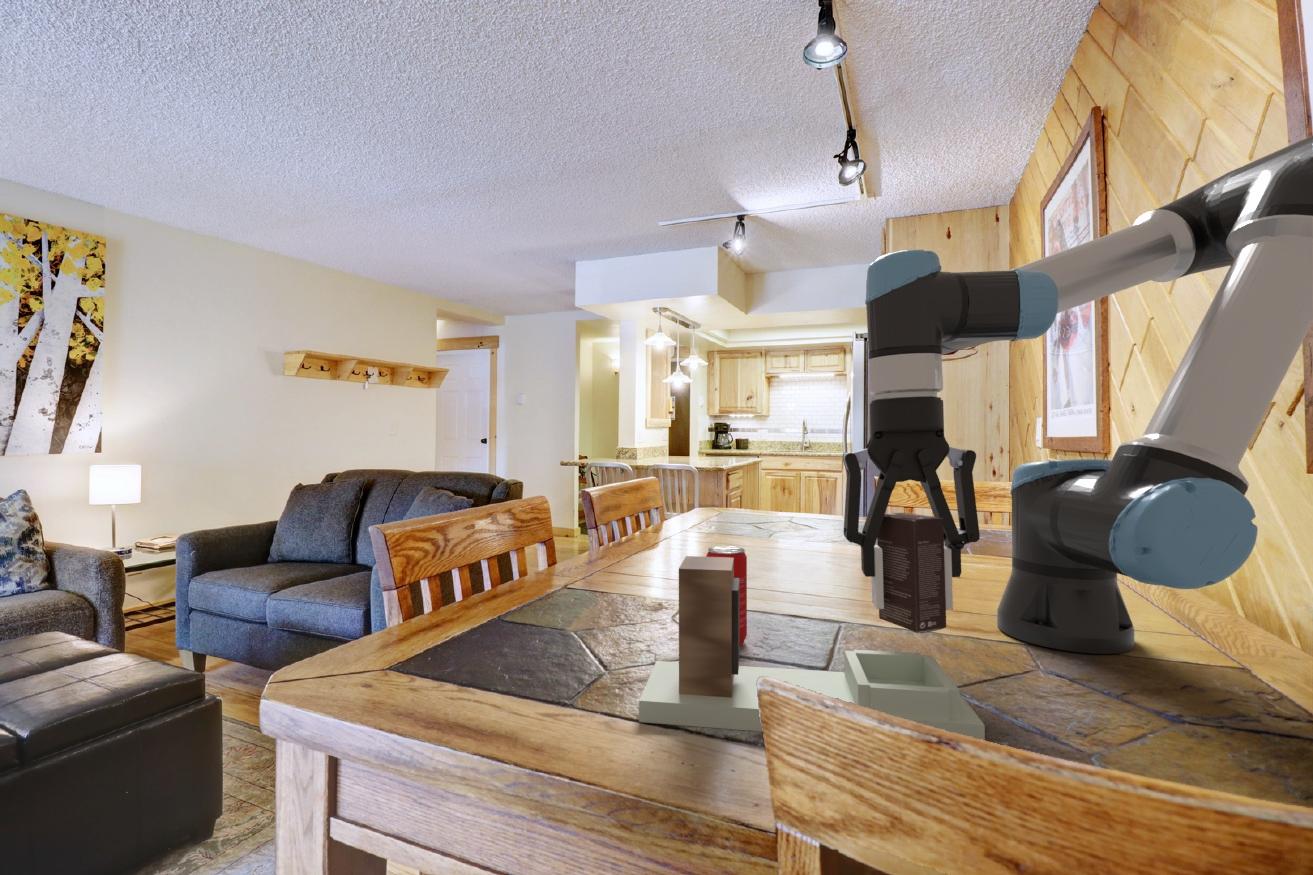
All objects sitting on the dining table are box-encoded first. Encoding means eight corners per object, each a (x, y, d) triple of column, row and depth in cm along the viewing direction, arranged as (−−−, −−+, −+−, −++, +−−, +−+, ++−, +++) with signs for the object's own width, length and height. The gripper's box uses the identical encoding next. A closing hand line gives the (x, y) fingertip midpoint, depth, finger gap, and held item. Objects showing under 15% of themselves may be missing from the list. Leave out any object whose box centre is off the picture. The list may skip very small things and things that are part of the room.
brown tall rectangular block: (739, 673, 63) (739, 557, 63) (738, 697, 57) (737, 570, 57) (686, 669, 64) (685, 556, 64) (678, 693, 58) (678, 568, 58)
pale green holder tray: (948, 697, 62) (948, 653, 62) (984, 748, 52) (984, 695, 52) (656, 679, 66) (656, 638, 66) (639, 721, 57) (638, 673, 57)
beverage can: (745, 650, 75) (745, 553, 75) (704, 647, 76) (703, 552, 76) (747, 637, 80) (747, 546, 80) (708, 634, 81) (708, 545, 81)
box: (949, 628, 65) (945, 516, 65) (916, 634, 63) (912, 520, 63) (908, 613, 71) (904, 510, 71) (876, 619, 69) (873, 513, 69)
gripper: (986, 395, 69) (992, 597, 69) (812, 401, 72) (817, 595, 72) (1014, 390, 62) (1020, 617, 62) (818, 398, 65) (824, 614, 65)
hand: (911, 605), depth 67 cm, fingers closed on box, 6 cm apart
